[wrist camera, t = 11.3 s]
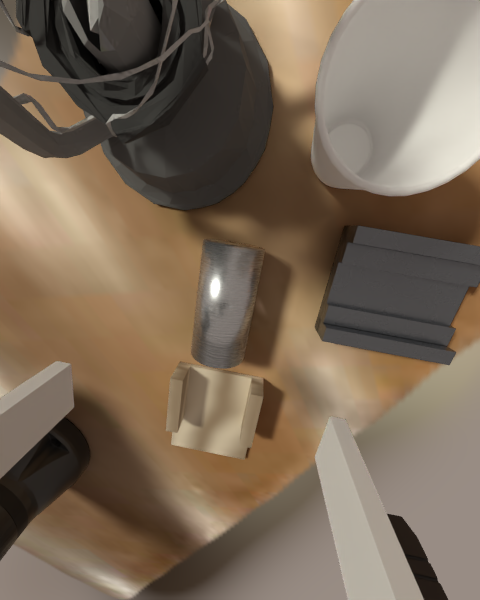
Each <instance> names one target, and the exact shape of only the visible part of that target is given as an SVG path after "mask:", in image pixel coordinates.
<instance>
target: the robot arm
mask: <svg viewBox="0 0 480 600" xmlns="http://www.w3.org/2000/svg"><path fill="white" fill-rule="evenodd" d="M73 408H74V397H73V384H72V370H71V364H69V363H64V362H59V361H56V362H54V363H53V364H51V365H50V366H48V367H47V368H45V369H44V370H42V371H41V372H39V373H38V374H36V375H35V376H33V377H31V378H30V379H28V380H27V381H25V382H24V383H22V384H21V385H19V386H18V387H16V388H15V389H13V390H12V391H10V392H9V393H7V394H6V395H4V396H3V397H1V398H0V560H1V559H2V558H3V556H4V555H5V554H6V552H7V551H8V550H9V549H10V547H11V546H12V545H13V544H14V542H15V541H16V539H17V538H18V537H19V536H20V534H21V533H22V532H23V531H24V529H25V528H26V527H27V525H28V524H29V523H30V522H31V521H32V520H33V519H34V518H35V517H36V516H37V515H38V514H40V513H41V512H42V511H43V510H44V509H45V508H47V507H48V506H49V505H50V504H51V503H52V502H54V501H55V500H56V499H57V498H58V497H59V496H60V495H62V494H63V493H64V492H65V491H66V490H67V489H69V488H70V487H71V486H72V485H73V484H74V483H75V482H76V481H77V480H78V478H79V477H80V476H81V474H82V473H83V471H84V470H85V469H86V467H87V465H88V463H89V458H90V453H89V448H88V445H87V443H86V440H85V439H84V437H83V435H82V434H81V433H80V431H79V430H78V429H77V428H76V427H75V426H74V425H73V424H72V423H70V422H69V421H68V420H66V419H65V418H64V417H65V416H66V415H67V414H68V413H69V412H70V411H71V410H72V409H73ZM315 460H316V464H317V468H318V473H319V477H320V482H321V486H322V490H323V494H324V499H325V503H326V508H327V512H328V516H329V520H330V525H331V530H332V533H333V538H334V542H335V547H336V551H337V555H338V560H339V564H340V568H341V573H342V577H343V582H344V586H345V590H346V595H347V599H348V600H448V598H447V596H446V594H445V593H444V590H443V588H442V586H441V584H440V583H438V580H437V576H436V574H435V572H434V570H433V568H432V566H431V564H430V563H429V562H428V558H427V556H426V554H425V552H424V550H423V548H422V546H421V544H420V542H419V540H418V538H417V536H416V535H415V534H414V532H413V531H412V530H411V528H410V527H409V526H408V524H407V523H406V522H405V521H404V519H403V518H402V517H400V516H395V515H391V514H387V513H386V511H385V509H384V506H383V504H382V502H381V500H380V497H379V495H378V493H377V490H376V488H375V486H374V483H373V481H372V479H371V476H370V474H369V472H368V470H367V467H366V465H365V463H364V460H363V458H362V456H361V453H360V451H359V449H358V447H357V444H356V442H355V440H354V437H353V435H352V433H351V430H350V428H349V426H348V423H347V421H346V419H342V418H337V417H332V416H330V417H329V420H328V423H327V425H326V428H325V431H324V434H323V436H322V439H321V442H320V445H319V447H318V450H317V453H316V455H315Z"/></svg>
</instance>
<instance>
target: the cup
mask: <svg viewBox="0 0 480 600" xmlns="http://www.w3.org/2000/svg"><path fill="white" fill-rule="evenodd" d="M315 115H316V119H315V127H314V134H313V141H312V148H311V163H312V167H313V170H314V172H315V174H316V176H317V177H318V178H319V179H320V180H321V181H322V182H323V183H324V184H326V185H328V186H330V187H334V188H340V189H355V190H366V191H368V192H370V193H373V194H379V195H385V196H409V195H413V194H418V193H422V192H426V191H429V190H431V189H434V188H436V187H439V186H441V185H443V184H446V183H448V182H449V181H451V180H452V179H454V178H456V177H457V176H459V175H460V174H462V173H463V172H465V171H466V170H468V169H469V168H470V167H471V166H472V165H473V164H475V163H476V162H477V161H478V160H479V159H480V0H353V2H352V3H351V4H350V5H349V7H348V8H347V9H346V10H345V12H344V14H343V15H342V17H341V19H340V20H339V22H338V24H337V26H336V27H335V29H334V31H333V33H332V34H331V36H330V39H329V42H328V44H327V47H326V49H325V52H324V54H323V57H322V59H321V64H320V68H319V73H318V77H317V82H316V92H315Z"/></svg>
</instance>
